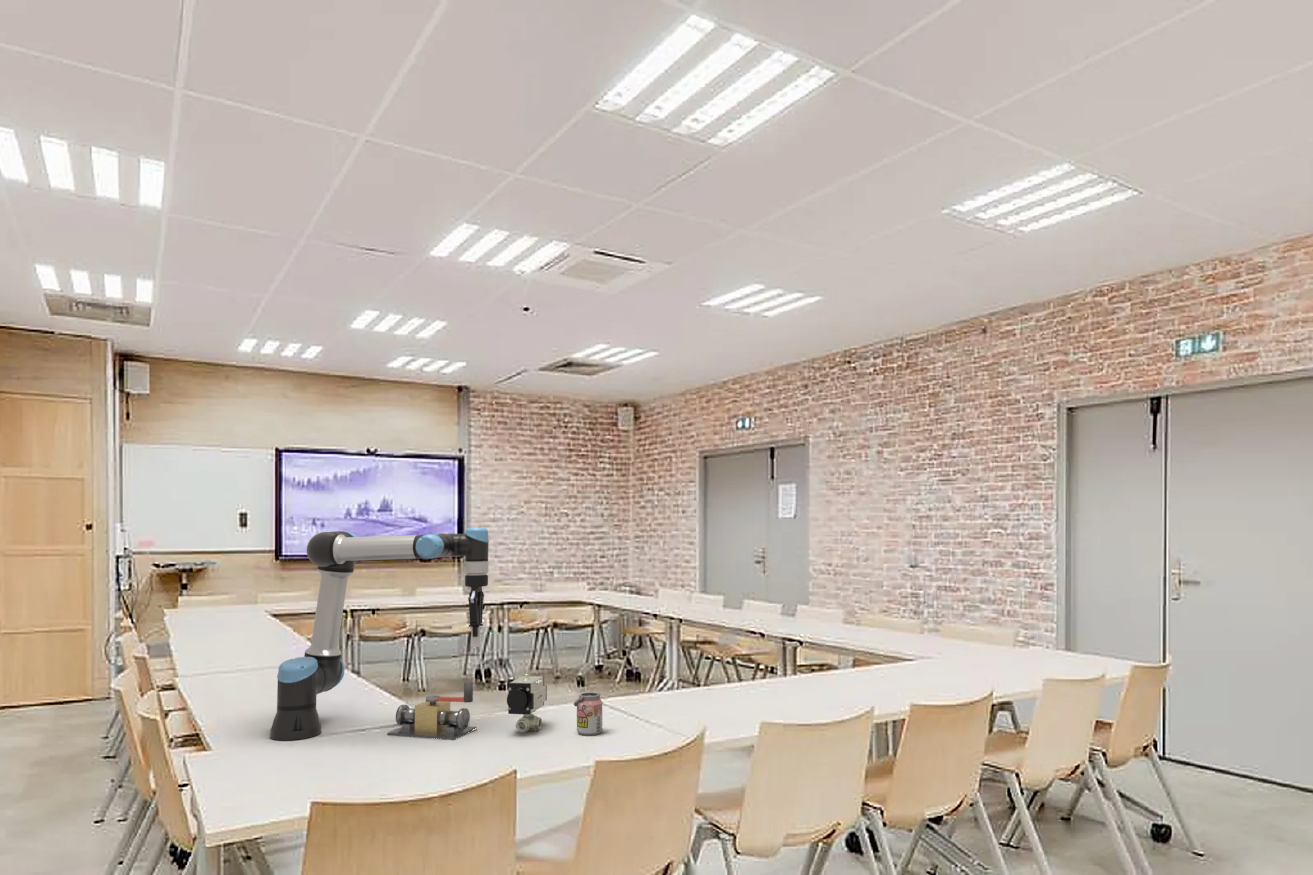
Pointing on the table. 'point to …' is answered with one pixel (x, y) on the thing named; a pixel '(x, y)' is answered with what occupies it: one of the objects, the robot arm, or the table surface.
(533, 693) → the ball valve
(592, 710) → the beverage can
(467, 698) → the lever
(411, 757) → the table surface
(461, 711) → the valve assembly
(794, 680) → the table surface
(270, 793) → the table surface
